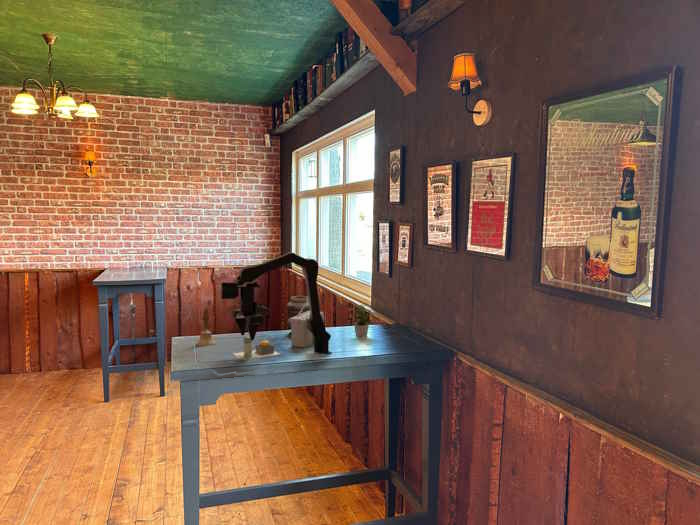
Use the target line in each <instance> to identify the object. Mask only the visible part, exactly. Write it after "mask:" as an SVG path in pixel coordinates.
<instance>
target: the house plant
mask: <svg viewBox="0 0 700 525" xmlns="http://www.w3.org/2000/svg"><path fill="white" fill-rule="evenodd" d="M364 305H365V304H360V306H359V304H356V307H357V310H356V309H354V308H351V311H353V313H354V314H355V316H356V317H355V316H352V315H350V317H349V318H348V319H351V318H352V319H353V320H354V321H356V322H355V323H354V324H353V325H354V332H355V334H354V335H355V338H356V337H358V338H357V339H364V338H363V337H367V338H368V333H369V327H370V323H368V322H369V321H371V320H373V319H374V318H373V319H370V318H371V317H370V314H369V313H370V312H371V311H372V310H373V309H372V308H370V309H369V311H368V312H367V313H366V308H365V306H364ZM348 307H349V308H350V307H351V306H348ZM365 313H366V315H365ZM373 321H374V320H373Z"/></svg>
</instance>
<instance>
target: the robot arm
mask: <svg viewBox="0 0 700 525" xmlns="http://www.w3.org/2000/svg"><path fill="white" fill-rule="evenodd" d="M290 263H292V264H295V265H297V266H299V267H301V270H302V274H303V276H304V279H305V281H306V282H305V283H306V291H307V296H308V300H309V309H310V317H309V318H306V321H307V328H308V329H309V331H310V332H311V333H312V334H313V336H314V344H313V350H314V353H316V354H322V355H323V354H326V355H329V354H330V355H331V354H332V351H330V350H329V349H330V348H329V347H330V346H329V345H330V344H329V341H330V340H331V337H332V335H331V334H330V333H329V332H328V331H327V330H326V325H325V320H324V321H323V319H322V316H321V314H320V312H321V308H320V307H321V306H320V298H319V297H320V296H319V290H318V277H319V262H318V261H316V260H315V259H313V258H309V257H306V258H305V257H302V256H301V255H298V254H296V253H294V252H292V251H288V252H286V253H285V254H283V255H280V256H277V257H274V258H272V259H269V260H267V261H264V262H262V263H259V264H258V263H257V264H251V265H245V266H243V267H241V268H240V270H239V275H238V276H237V277H236V279H235V280H234V281H221V283H220V284H221V286H220V299H221V301H223V300H236V299H237V298H238V297H239V300H237V301H238V302H237V303H238V304H239V306H240V307H239V308H237V309H236V308H235V309H232V311H231V317H232V320H233V321H234V324H236V328H237V329H238V331H239V333H240V335H241V336H243V337H244V336H245V334H246V328H247V331H248V335H249V337H250V338H251V340H252V341H254V340H255V338H256V334H257V332H258V329H259V327H260V326H261V325H263V324H264V323H265V317H264V316H268V312H269V311H270V308H268V307H266V306H263V304H262V303H260V302H258V301H256V288H260V287H261V285H260V284H258V282H257V281H256V280H258V279H259V278H261V276H263V275H265V273H269V272H270V271H273V270H276V269H278V268H281V267H283V266H286V265H290Z"/></svg>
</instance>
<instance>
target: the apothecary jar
mask: <svg viewBox="0 0 700 525" xmlns="http://www.w3.org/2000/svg"><path fill="white" fill-rule="evenodd" d="M307 300H308V295H307V296H306V295H294V296H290V301H289V302H288V303H287V305H286V306H287V308H288V309H289V318H288V319H287V321H286V322H287V325H288V326H289V327H290V328H291V322H290V318H292V317H295V316H297V315H298V314H299V313H300V311H301V309H302V308H303V306H304V305H305V303H306V302H307ZM307 311H310V309H309V300H308V302H307V304H306V305H305V307H304V308H303V310H302V311H301V313H300V314H302V313H305V312H307ZM290 334H291V331H289V335H290Z"/></svg>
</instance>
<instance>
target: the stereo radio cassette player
mask: <svg viewBox="0 0 700 525" xmlns="http://www.w3.org/2000/svg"><path fill="white" fill-rule="evenodd" d="M307 302H308V300H307ZM307 302H306V303H305V305H306V304H307ZM305 305H304V306H303V308H304V307H305ZM303 308H302V309H301V311H302V310H303ZM301 311H300V313H301ZM300 313H299V314H298V315H297V316H295V317H292V318H290V317H289V318H290V322H291V327H290V328H291V329H290V332H291V335H290V336H291V338H290V339H291V340H290V341H291V342H290V343H291V347H295V348H302V349H305V348H307V347H310V346H312V345H314V336H313V334H312V333H311V332H310V331H309V329H308V328H307V321H306V318H309V317H310V311H307V312H305V313H302V314H300ZM320 314H321V316H322V319H323V321H324V322H325V314H324V311H320Z"/></svg>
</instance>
